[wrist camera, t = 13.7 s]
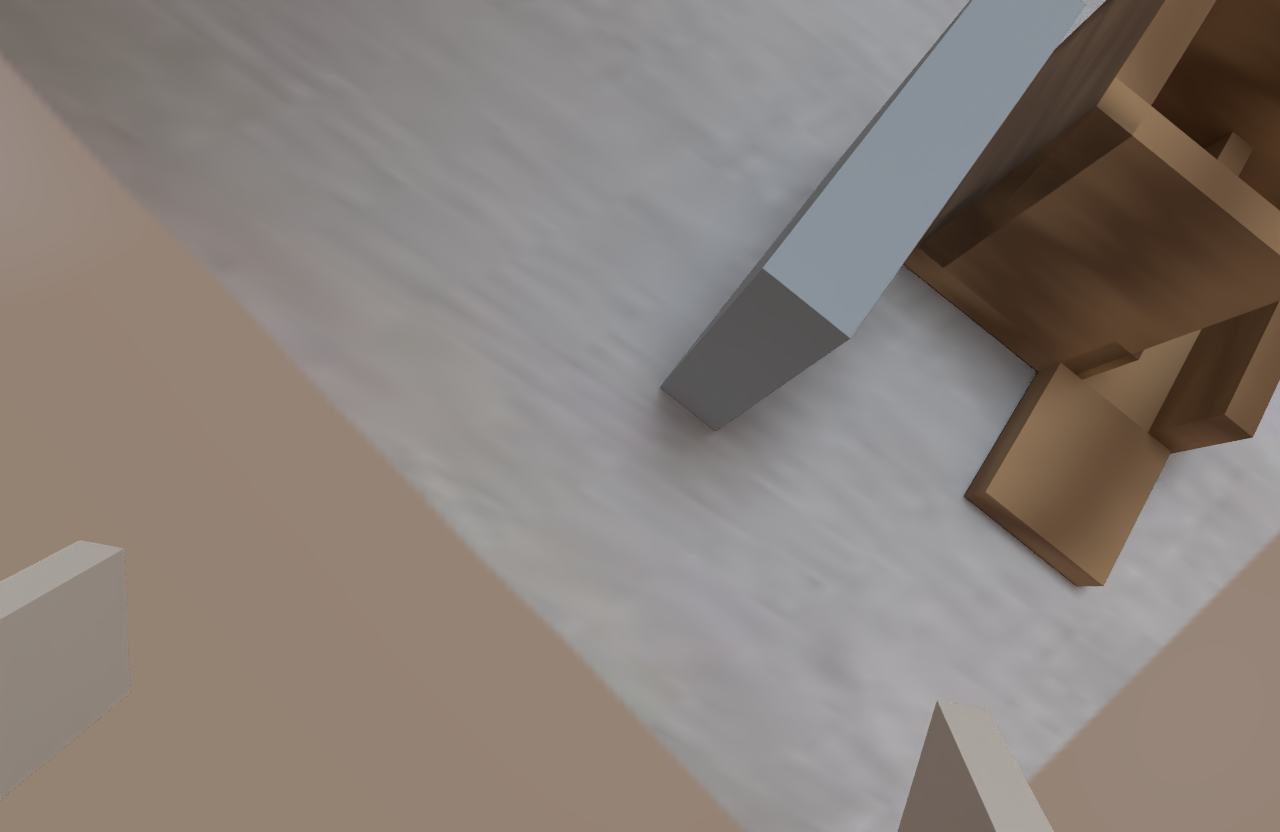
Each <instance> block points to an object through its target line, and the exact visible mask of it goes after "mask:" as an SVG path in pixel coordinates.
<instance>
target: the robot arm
mask: <svg viewBox="0 0 1280 832" xmlns="http://www.w3.org/2000/svg"><path fill="white" fill-rule="evenodd" d="M129 693H130V673H129V648H128V626H127V602H126V579H125V556H124V548H119V547H114V546H108V545H103V544H98V543H92V542H87V541H81V540H79V541H77V542H75V543H73V544H71V545H69V546H67V547H66V548H64V549H62V550H60V551H58V552H56V553H54V554H52V555H50V556H48V557H46V558H44V559H42V560H40V561H39V562H37V563H35V564H33V565H31V566H29V567H27V568H25V569H23V570H21V571H19V572H17V573H15V574H14V575H12V576H10V577H8V578H6V579H4V580H2V581H0V800H1V799H3V798H4V797H5V796H6V795H7V794H9V793H10V792H11V791H12V790H13V789H15V788H16V787H17V786H18V785H20V784H21V783H22V782H23V781H24V780H25V779H27V778H28V777H29V776H30V775H32V774H33V773H34V772H35V771H37V770H38V769H39V768H40V767H41V766H42V765H44V764H45V763H46V762H47V761H49V760H50V759H51V758H52V757H53V756H55V755H56V754H57V753H58V752H59V751H61V750H62V749H63V748H64V747H66V746H67V745H68V744H69V743H70V742H72V741H73V740H74V739H75V738H76V737H78V736H79V735H80V734H81V733H82V732H84V731H85V730H86V729H87V728H89V726H91V725H92V724H93V723H95V722H96V721H97V720H98V719H99V718H101V717H102V716H103V715H104V714H106V713H107V712H108V711H109V710H110V709H112V707H114V706H115V705H116V704H118V703H119V702H120V701H121V700H123V699H124V698H125V697H126V696H127V695H128V694H129ZM898 832H1054V831H1053V829H1052V828H1051V826H1050V824H1049V822H1048V820H1047V818H1046V817H1045V815H1044V813H1043V811H1042V809H1041V807H1040V806H1039V804H1038V802H1037V800H1036V798H1035V796H1034V794H1033V793H1032V791H1031V789H1030V787H1029V785H1028V783H1027V781H1026V780H1025V778H1024V776H1023V774H1022V772H1021V770H1020V768H1019V767H1018V765H1017V763H1016V761H1015V759H1014V757H1013V756H1012V754H1011V752H1010V750H1009V748H1008V746H1007V744H1006V743H1005V741H1004V739H1003V737H1002V735H1001V733H1000V732H999V730H998V728H997V726H996V724H995V722H994V720H993V719H992V717H991V715H990V713H989V711H988V710H987V709H982V708H977V707H971V706H966V705H961V704H955V703H950V702H944V701H939V700H937V702H936V706H935V709H934V712H933V716H932V719H931V722H930V726H929V729H928V732H927V736H926V739H925V742H924V746H923V749H922V752H921V756H920V759H919V762H918V766H917V769H916V772H915V776H914V779H913V782H912V786H911V789H910V792H909V796H908V799H907V802H906V806H905V809H904V812H903V816H902V819H901V822H900V826H899V829H898Z"/></svg>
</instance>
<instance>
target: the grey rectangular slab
mask: <svg viewBox="0 0 1280 832" xmlns="http://www.w3.org/2000/svg"><path fill="white" fill-rule="evenodd" d="M1085 6H1086V4H1085V3H1084V2H1082V1H1081V0H970V1H969V2H968V4H967V5H966V6H965V7H964V8H963V10H962V11H961V12H960V13H959V15H958V16H957V17H956V18H955V19H954V21H953V22H952V23H951V24H950V26H949V27H948V28H947V29H946V30H945V32H944V33H943V34H942V35H941V36H940V38H939V39H938V40H937V41H936V43H935V44H934V45H933V46H932V47H931V49H930V50H929V51H928V52H927V53H926V55H925V56H924V57H923V58H922V60H921V61H920V62H919V63H918V64H917V66H916V67H915V68H914V69H913V71H912V72H911V73H910V74H909V75H908V77H907V78H906V79H905V80H904V81H903V83H902V84H901V85H900V86H899V88H898V89H897V90H896V91H895V92H894V94H893V95H892V96H891V97H890V98H889V100H888V101H887V102H886V103H885V105H884V106H883V107H882V108H881V109H880V111H879V112H878V113H877V114H876V116H875V117H874V118H873V119H872V120H871V122H870V123H869V124H868V125H867V126H866V128H865V129H864V130H863V131H862V133H861V134H860V135H859V136H858V137H857V139H856V140H855V141H854V142H853V143H852V145H851V146H850V147H849V148H848V150H847V151H846V152H845V153H844V154H843V156H842V157H841V158H840V159H839V161H838V162H837V163H836V165H835V166H834V167H833V168H832V170H831V171H830V172H829V173H828V175H827V176H826V177H825V178H824V180H823V181H822V182H821V184H820V185H819V186H818V187H817V189H816V190H815V191H814V192H813V194H812V195H811V196H810V198H809V199H808V200H807V201H806V203H805V204H804V205H803V206H802V208H801V209H800V210H799V211H798V213H797V214H796V215H795V217H794V218H793V219H792V220H791V222H790V223H789V224H788V225H787V227H786V228H785V229H784V231H783V232H782V233H781V234H780V236H779V237H778V238H777V239H776V241H775V242H774V243H773V244H772V246H771V247H770V248H769V250H768V251H767V252H766V253H765V255H764V256H763V257H762V258H761V260H760V261H759V262H758V263H757V265H756V266H755V267H754V269H753V270H752V271H751V272H750V274H749V275H748V276H747V277H746V279H745V280H744V281H743V283H742V284H741V285H740V286H739V288H738V289H737V290H736V291H735V293H734V294H733V295H732V296H731V298H730V299H729V300H728V302H727V303H726V304H725V305H724V307H723V308H722V309H721V310H720V312H719V313H718V314H717V316H716V317H715V318H714V319H713V321H712V322H711V323H710V324H709V326H708V327H707V328H706V329H705V331H704V332H703V333H702V335H701V336H700V337H699V338H698V340H697V341H696V342H695V343H694V345H693V346H692V347H691V349H690V350H689V351H688V352H687V354H686V355H685V356H684V357H683V359H682V360H681V361H680V362H679V364H678V365H677V366H676V368H675V369H674V370H673V371H672V373H671V374H670V375H669V376H668V378H667V379H666V380H665V382H664V383H663V384H662V385H661V387H660V388H662V389H663V390H664V391H665V392H667V393H668V394H669V395H670V396H672V397H673V398H674V399H675V400H677V401H678V402H679V403H680V404H682V405H683V406H684V407H686V408H687V409H688V410H689V411H691V412H692V413H693V414H694V415H696V416H697V417H698V418H699V419H701V420H702V421H703V422H704V423H706V424H707V425H708V426H709V427H711V428H712V429H713V430H714V431H717V430H718V429H720V428H721V427H722V426H724V425H725V424H727V423H728V422H730V421H731V420H733V419H734V418H735V417H737V416H738V415H740V414H741V413H743V412H744V411H746V410H747V409H749V408H750V407H751V406H753V405H754V404H756V403H757V402H759V401H760V400H762V399H763V398H764V397H766V396H767V395H769V394H770V393H772V392H773V391H775V390H776V389H778V388H779V387H780V386H782V385H783V384H785V383H786V382H788V381H789V380H791V379H792V378H794V377H795V376H796V375H798V374H799V373H801V372H802V371H804V370H805V369H807V368H808V367H809V366H811V365H812V364H814V363H815V362H817V361H818V360H820V359H821V358H823V357H824V356H825V355H827V354H828V353H830V352H831V351H833V350H834V349H836V348H837V347H838V346H840V345H841V344H843V343H844V342H846V341H847V340H849V339H850V338H851V337H852V335H853V334H854V332H855V331H856V330H857V328H858V327H859V325H860V324H861V323H862V321H863V320H864V318H865V317H866V316H867V314H868V313H869V311H870V310H871V308H872V307H873V306H874V304H875V303H876V301H877V300H878V299H879V297H880V296H881V294H882V293H883V291H884V290H885V289H886V287H887V286H888V284H889V283H890V282H891V280H892V279H893V277H894V276H895V274H896V273H897V272H898V270H899V269H900V267H901V266H902V265H903V263H904V262H905V260H906V259H907V258H908V256H909V255H910V253H911V252H912V250H913V249H914V248H915V246H916V245H917V243H918V242H919V241H920V239H921V238H922V236H923V235H924V233H925V232H926V231H927V229H928V228H929V226H930V225H931V224H932V222H933V221H934V219H935V218H936V217H937V215H938V214H939V212H940V211H941V209H942V208H943V207H944V205H945V204H946V202H947V201H948V200H949V198H950V197H951V195H952V194H953V192H954V191H955V190H956V188H957V187H958V185H959V184H960V183H961V181H962V180H963V178H964V177H965V176H966V174H967V173H968V171H969V170H970V168H971V167H972V166H973V164H974V163H975V161H976V160H977V159H978V157H979V156H980V154H981V153H982V151H983V150H984V149H985V147H986V146H987V144H988V143H989V142H990V140H991V139H992V137H993V136H994V134H995V133H996V132H997V130H998V129H999V127H1000V126H1001V125H1002V123H1003V122H1004V120H1005V119H1006V118H1007V116H1008V115H1009V113H1010V112H1011V110H1012V109H1013V108H1014V106H1015V105H1016V103H1017V102H1018V101H1019V99H1020V98H1021V96H1022V95H1023V93H1024V92H1025V91H1026V89H1027V88H1028V86H1029V85H1030V84H1031V82H1032V81H1033V79H1034V78H1035V77H1036V75H1037V74H1038V72H1039V71H1040V69H1041V68H1042V67H1043V65H1044V64H1045V62H1046V61H1047V60H1048V58H1049V57H1050V55H1051V54H1052V52H1053V51H1054V50H1055V48H1056V47H1057V45H1058V44H1059V43H1060V41H1061V40H1062V38H1063V37H1064V36H1065V34H1066V33H1067V31H1068V30H1069V28H1070V27H1071V26H1072V24H1073V23H1074V21H1075V20H1076V19H1077V17H1078V16H1079V14H1080V13H1081V11H1082V10H1083V9H1084V7H1085Z"/></svg>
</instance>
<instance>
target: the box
mask: <svg viewBox="0 0 1280 832" xmlns="http://www.w3.org/2000/svg"><path fill="white" fill-rule="evenodd" d="M903 264H904V265H906V266H907V267H908V268H909V269H911V270H912V271H913V272H914V273H916V274H917V275H918V276H919V277H921V278H922V279H923V280H924V281H926V282H927V283H928V284H929V285H931V286H932V287H933V288H934V289H936V290H937V291H938V292H939V293H941V294H942V295H943V296H944V297H946V298H947V299H948V300H949V301H950V302H952V303H953V304H954V305H955V306H957V307H958V308H959V309H960V310H962V311H963V312H964V313H965V314H967V315H968V316H969V317H970V318H972V319H973V320H974V321H975V322H977V323H978V324H979V325H980V326H982V327H983V328H984V329H985V330H987V331H988V332H989V333H990V334H992V335H993V336H994V337H995V338H997V339H998V340H999V341H1000V342H1002V343H1003V344H1004V345H1005V346H1007V347H1008V348H1009V349H1010V350H1011V351H1013V352H1014V353H1015V354H1016V355H1018V356H1019V357H1020V358H1021V359H1023V360H1024V361H1025V362H1026V363H1028V364H1029V365H1030V366H1031V367H1033V368H1034V369H1035V370H1036V371H1038V372H1037V374H1036V376H1035V377H1034V379H1033V381H1032V382H1031V384H1030V386H1029V387H1028V389H1027V391H1026V393H1025V394H1024V396H1023V398H1022V399H1021V401H1020V403H1019V404H1018V406H1017V408H1016V409H1015V411H1014V413H1013V414H1012V416H1011V418H1010V420H1009V421H1008V423H1007V425H1006V426H1005V428H1004V430H1003V431H1002V433H1001V435H1000V436H999V438H998V440H997V441H996V443H995V445H994V447H993V448H992V450H991V452H990V453H989V455H988V457H987V458H986V460H985V462H984V463H983V465H982V467H981V468H980V470H979V472H978V474H977V475H976V477H975V479H974V480H973V482H972V484H971V485H970V487H969V489H968V490H967V492H966V494H965V495H964V496H965V497H966V498H967V499H969V500H970V501H971V502H972V503H974V504H975V505H976V506H977V507H979V508H980V509H981V510H982V511H984V512H985V513H986V514H987V515H989V516H990V517H991V518H992V519H994V520H995V521H996V522H997V523H999V524H1000V525H1001V526H1003V527H1004V528H1005V529H1006V530H1008V531H1009V532H1010V533H1011V534H1013V535H1014V536H1015V537H1016V538H1018V539H1019V540H1020V541H1021V542H1023V543H1024V544H1025V545H1026V546H1028V547H1029V548H1030V549H1031V550H1033V551H1034V552H1035V553H1036V554H1038V555H1039V556H1040V557H1041V558H1043V559H1044V560H1045V561H1046V562H1048V563H1049V564H1050V565H1051V566H1053V567H1054V568H1055V569H1056V570H1058V571H1059V572H1060V573H1061V574H1063V575H1064V576H1065V577H1066V578H1068V579H1069V580H1070V581H1071V582H1073V583H1074V584H1075V585H1076V586H1104V584H1105V582H1106V580H1107V578H1108V576H1109V574H1110V572H1111V570H1112V568H1113V566H1114V564H1115V562H1116V560H1117V558H1118V556H1119V554H1120V552H1121V550H1122V548H1123V546H1124V544H1125V542H1126V540H1127V538H1128V536H1129V534H1130V532H1131V530H1132V528H1133V526H1134V524H1135V522H1136V520H1137V518H1138V516H1139V514H1140V512H1141V510H1142V508H1143V506H1144V504H1145V502H1146V500H1147V498H1148V496H1149V494H1150V493H1151V491H1152V489H1153V487H1154V485H1155V483H1156V481H1157V479H1158V477H1159V475H1160V473H1161V471H1162V469H1163V467H1164V465H1165V463H1166V461H1167V459H1168V457H1169V455H1170V454H1171V453H1176V452H1181V451H1186V450H1191V449H1196V448H1201V447H1206V446H1211V445H1216V444H1221V443H1226V442H1232V441H1237V440H1242V439H1247V438H1252V437H1253V436H1254V434H1255V432H1256V429H1257V427H1258V425H1259V423H1260V421H1261V419H1262V417H1263V414H1264V412H1265V410H1266V408H1267V406H1268V404H1269V401H1270V399H1271V397H1272V395H1273V393H1274V391H1275V389H1276V386H1277V384H1278V382H1279V380H1280V0H1106V1H1105V2H1104V3H1103V4H1102V5H1101V6H1100V7H1099V8H1098V9H1097V10H1096V11H1095V12H1094V13H1093V14H1092V15H1091V16H1090V17H1088V18H1087V19H1086V20H1085V21H1084V22H1083V23H1082V24H1081V25H1080V26H1079V27H1078V28H1077V29H1076V30H1075V31H1074V32H1073V33H1072V34H1071V35H1069V36H1068V37H1067V38H1066V39H1065V40H1064V41H1063V42H1062V43H1061V44H1060V45H1059V46H1058V47H1057V48H1056V49H1055V50H1054V51H1053V52H1052V54H1051V55H1050V57H1049V58H1048V60H1047V61H1046V62H1045V64H1044V65H1043V67H1042V68H1041V69H1040V71H1039V72H1038V74H1037V75H1036V77H1035V78H1034V79H1033V81H1032V82H1031V84H1030V85H1029V86H1028V88H1027V89H1026V91H1025V92H1024V93H1023V95H1022V96H1021V98H1020V99H1019V101H1018V102H1017V103H1016V105H1015V106H1014V108H1013V109H1012V110H1011V112H1010V113H1009V115H1008V116H1007V118H1006V119H1005V120H1004V122H1003V123H1002V125H1001V126H1000V127H999V129H998V130H997V132H996V133H995V134H994V136H993V137H992V139H991V140H990V142H989V143H988V144H987V146H986V147H985V149H984V150H983V151H982V153H981V154H980V156H979V157H978V159H977V160H976V161H975V163H974V164H973V166H972V167H971V168H970V170H969V171H968V173H967V174H966V176H965V177H964V178H963V180H962V181H961V183H960V184H959V185H958V187H957V188H956V190H955V191H954V192H953V194H952V195H951V197H950V198H949V200H948V201H947V202H946V204H945V205H944V207H943V208H942V209H941V211H940V212H939V214H938V215H937V217H936V218H935V219H934V221H933V222H932V224H931V225H930V226H929V228H928V229H927V231H926V232H925V233H924V235H923V236H922V238H921V239H920V241H919V242H918V243H917V245H916V246H915V248H914V249H913V250H912V252H911V253H910V255H909V256H908V258H907V259H906V260H905V262H904V263H903Z"/></svg>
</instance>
